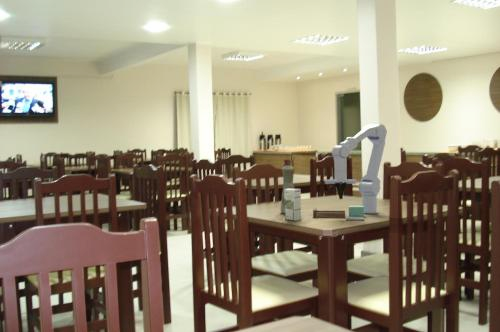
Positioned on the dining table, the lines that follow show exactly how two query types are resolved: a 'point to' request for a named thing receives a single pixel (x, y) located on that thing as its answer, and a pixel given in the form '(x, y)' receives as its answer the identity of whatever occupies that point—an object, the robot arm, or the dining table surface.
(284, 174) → the bottle
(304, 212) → the dining table surface
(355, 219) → the mat
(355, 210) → the block
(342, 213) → the trough
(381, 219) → the dining table surface
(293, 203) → the syrup box
